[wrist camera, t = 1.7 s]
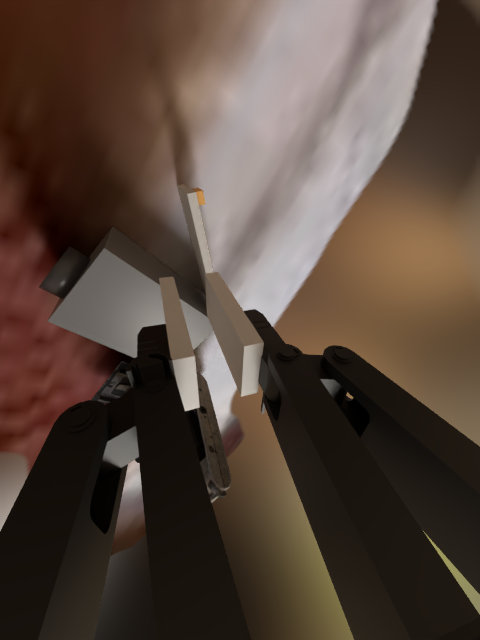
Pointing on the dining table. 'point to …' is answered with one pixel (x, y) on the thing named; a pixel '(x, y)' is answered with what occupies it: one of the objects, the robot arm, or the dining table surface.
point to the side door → (196, 228)
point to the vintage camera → (200, 426)
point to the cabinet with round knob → (119, 294)
